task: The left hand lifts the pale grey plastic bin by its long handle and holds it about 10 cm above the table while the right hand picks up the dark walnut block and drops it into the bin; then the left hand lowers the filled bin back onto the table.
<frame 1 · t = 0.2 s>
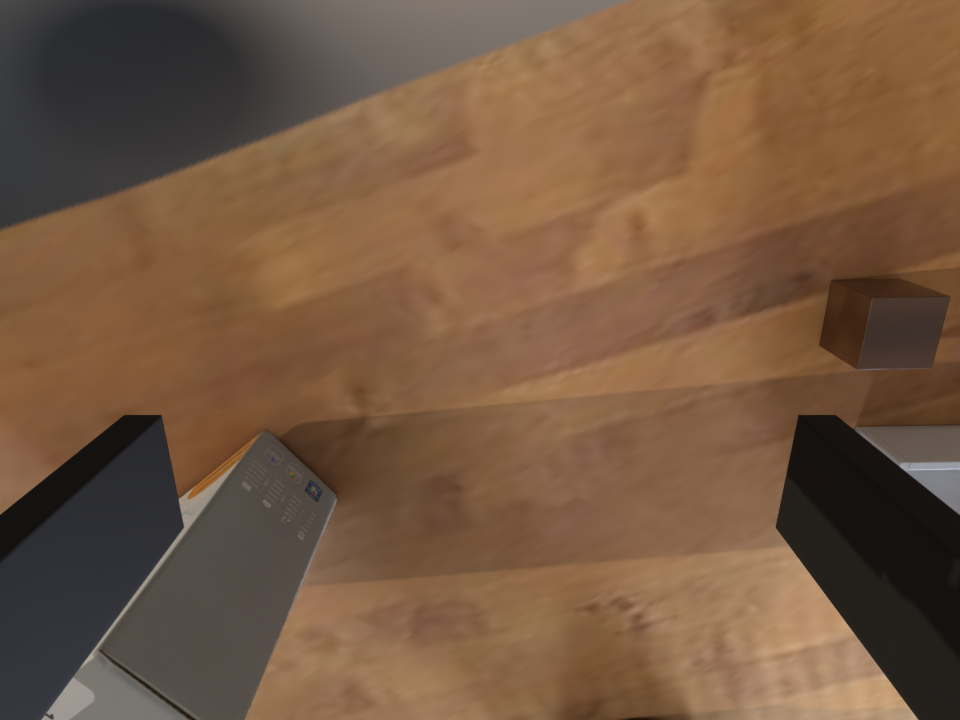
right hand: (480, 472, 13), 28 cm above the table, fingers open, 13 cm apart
walnut block: (859, 312, 40), on the table
grey bin: (927, 504, 46), on the table
hard drive box: (232, 516, 46), on the table
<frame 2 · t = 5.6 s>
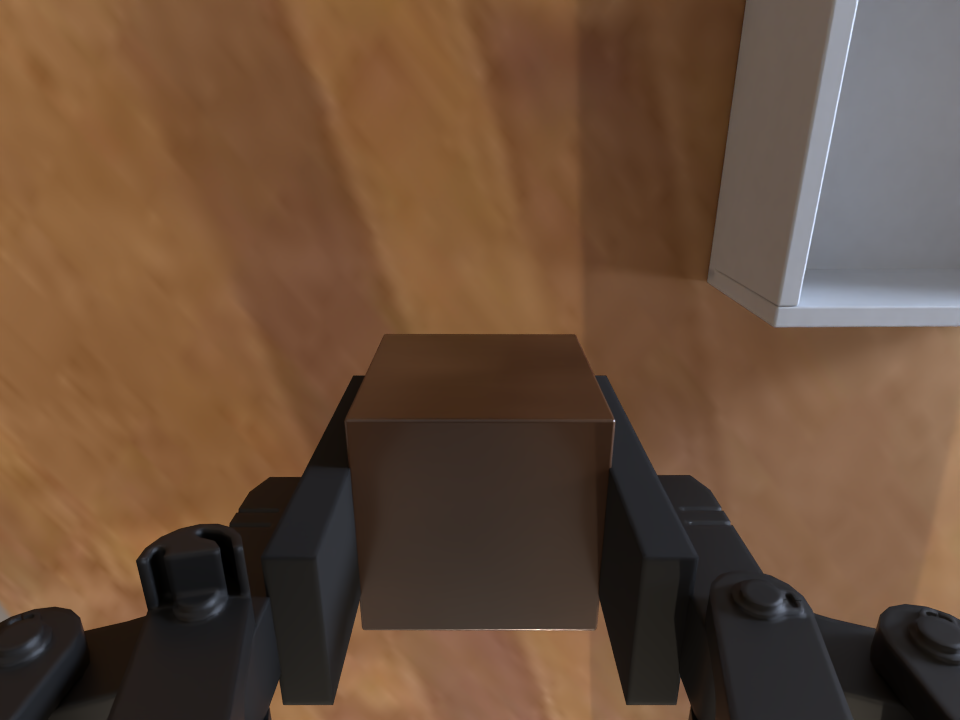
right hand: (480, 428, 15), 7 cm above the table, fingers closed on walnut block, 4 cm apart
walnut block: (479, 420, 15), point 7 cm above the table, touching right hand
grey bin: (946, 73, 19), on the table, touching left hand
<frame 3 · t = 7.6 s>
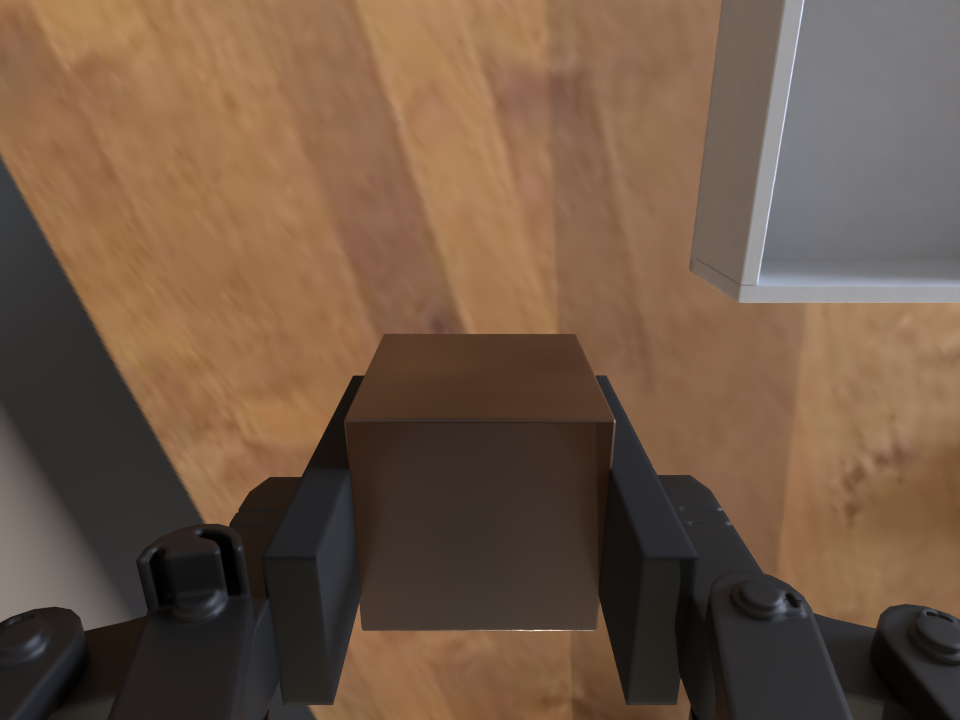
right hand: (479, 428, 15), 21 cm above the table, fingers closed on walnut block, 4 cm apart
walnut block: (479, 420, 15), point 20 cm above the table, touching right hand
grey bin: (889, 92, 22), point 9 cm above the table, touching left hand
when the right hand's fingers open (20 cm above the table, at t = 9.8 s): walnut block drops 14 cm, resting on grey bin.
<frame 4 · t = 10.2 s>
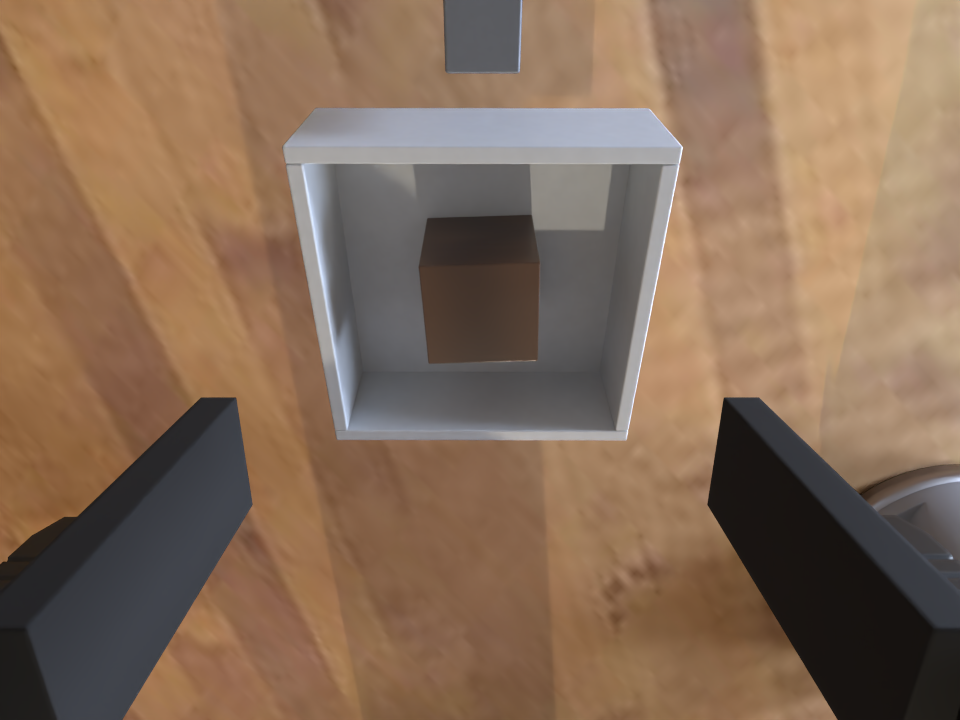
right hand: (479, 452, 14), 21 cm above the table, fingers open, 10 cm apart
walnut block: (481, 263, 27), point 6 cm above the table, tilted 15°, touching grey bin
grey bin: (481, 259, 28), point 5 cm above the table, tilted 15°, touching left hand, walnut block
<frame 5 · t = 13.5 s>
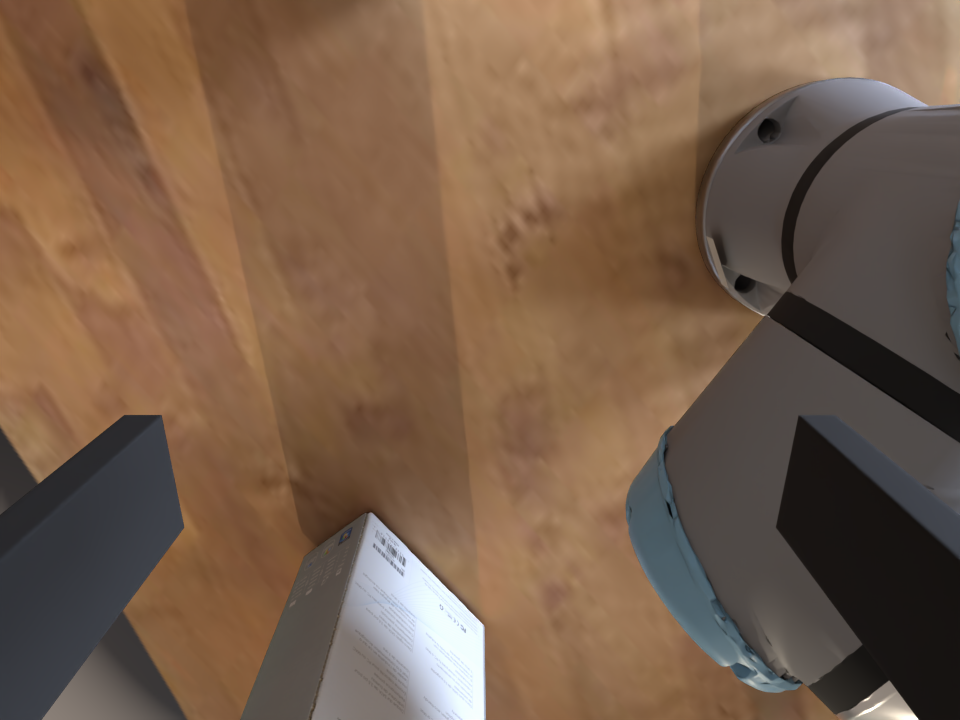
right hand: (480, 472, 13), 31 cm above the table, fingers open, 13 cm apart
hard drive box: (397, 589, 52), on the table
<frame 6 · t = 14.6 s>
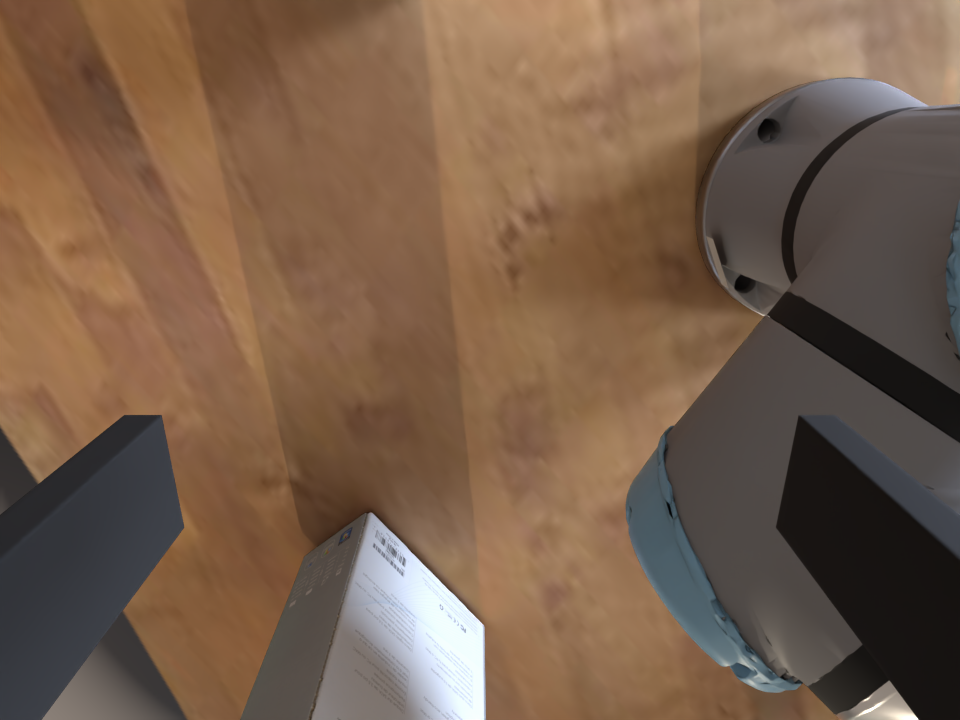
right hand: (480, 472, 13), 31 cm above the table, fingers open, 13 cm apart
hard drive box: (397, 589, 52), on the table
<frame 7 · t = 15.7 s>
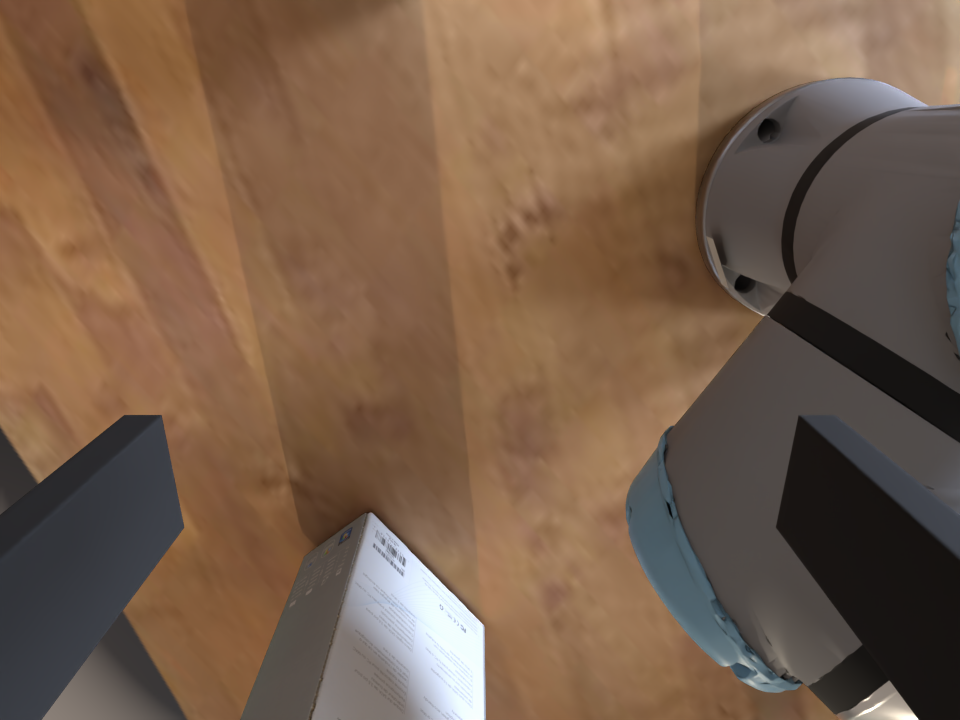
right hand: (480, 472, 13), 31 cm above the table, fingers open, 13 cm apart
hard drive box: (397, 589, 52), on the table
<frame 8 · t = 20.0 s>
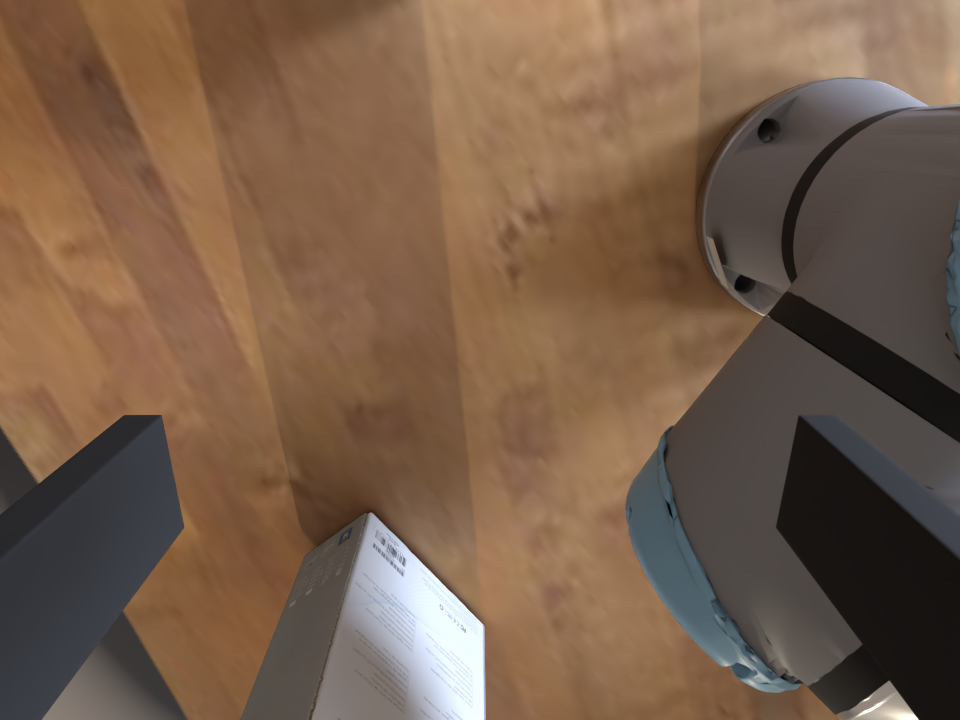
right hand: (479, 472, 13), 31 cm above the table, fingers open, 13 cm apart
hard drive box: (397, 589, 52), on the table
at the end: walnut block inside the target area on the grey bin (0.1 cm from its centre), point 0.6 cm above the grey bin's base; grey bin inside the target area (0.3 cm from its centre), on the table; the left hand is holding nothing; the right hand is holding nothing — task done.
